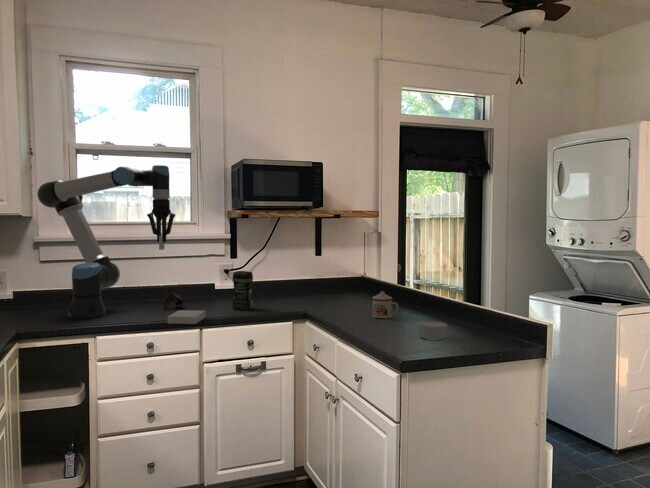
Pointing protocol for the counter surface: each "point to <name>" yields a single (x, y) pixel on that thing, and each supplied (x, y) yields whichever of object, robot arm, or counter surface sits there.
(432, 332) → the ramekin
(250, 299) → the coffee jar
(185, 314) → the picture frame
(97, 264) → the robot arm
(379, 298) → the teacup with lid
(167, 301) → the dark brown irregular piece
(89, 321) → the counter surface
